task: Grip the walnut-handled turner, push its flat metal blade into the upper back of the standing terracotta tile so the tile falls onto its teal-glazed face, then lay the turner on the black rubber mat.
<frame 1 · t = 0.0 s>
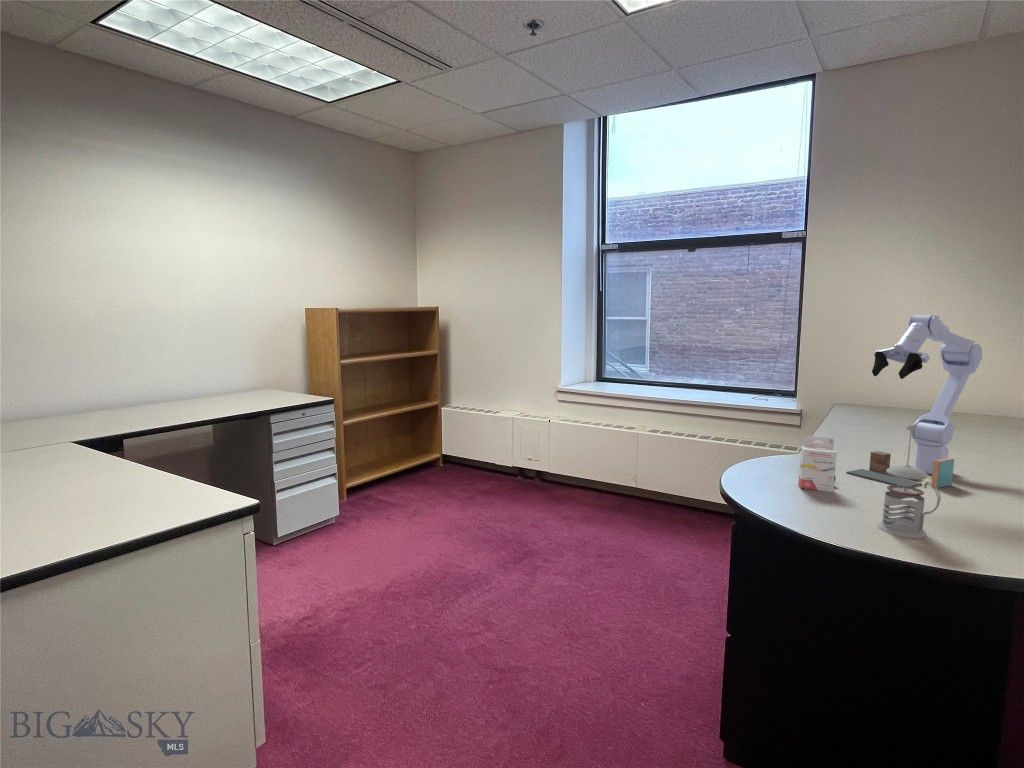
hand: (887, 375, 174), 32 cm above the table, tool tilted 50°, fingers open, 7 cm apart
tool mat: (882, 478, 181), on the table
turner: (879, 471, 191), on the table
hand tool: (814, 478, 183), on the table
french press: (905, 531, 138), on the table
tile: (941, 486, 175), on the table
ink cartridge box: (815, 489, 171), on the table
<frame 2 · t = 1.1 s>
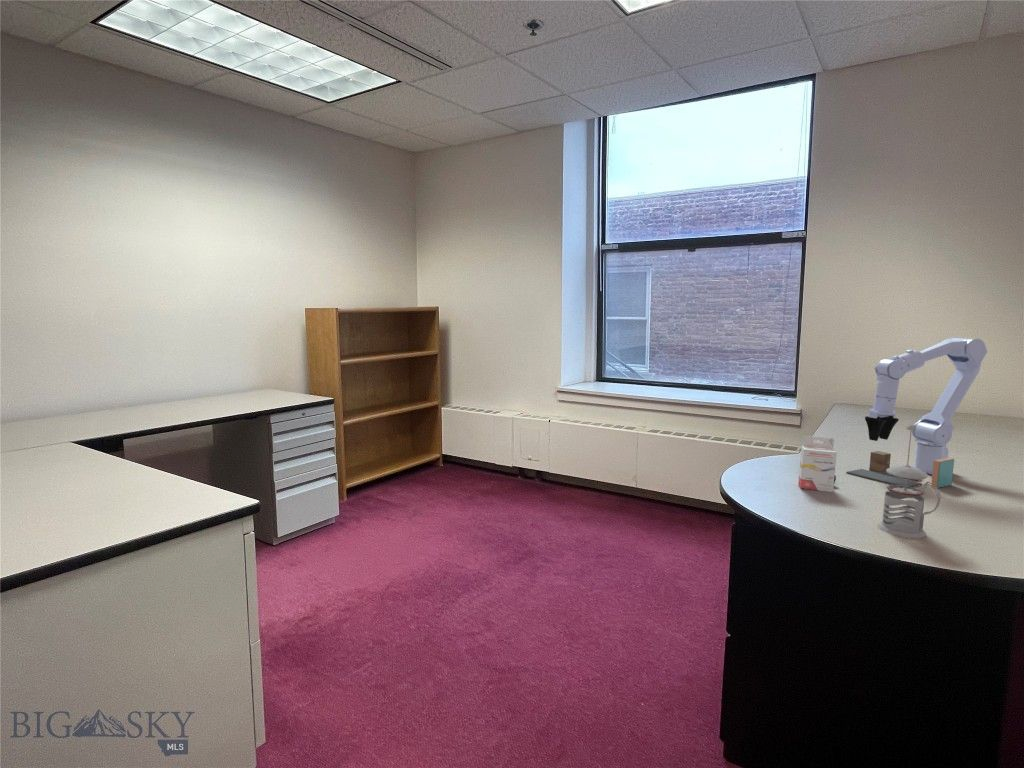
hand: (878, 439, 188), 10 cm above the table, tool pointing down, fingers open, 7 cm apart
nothing on the table moved.
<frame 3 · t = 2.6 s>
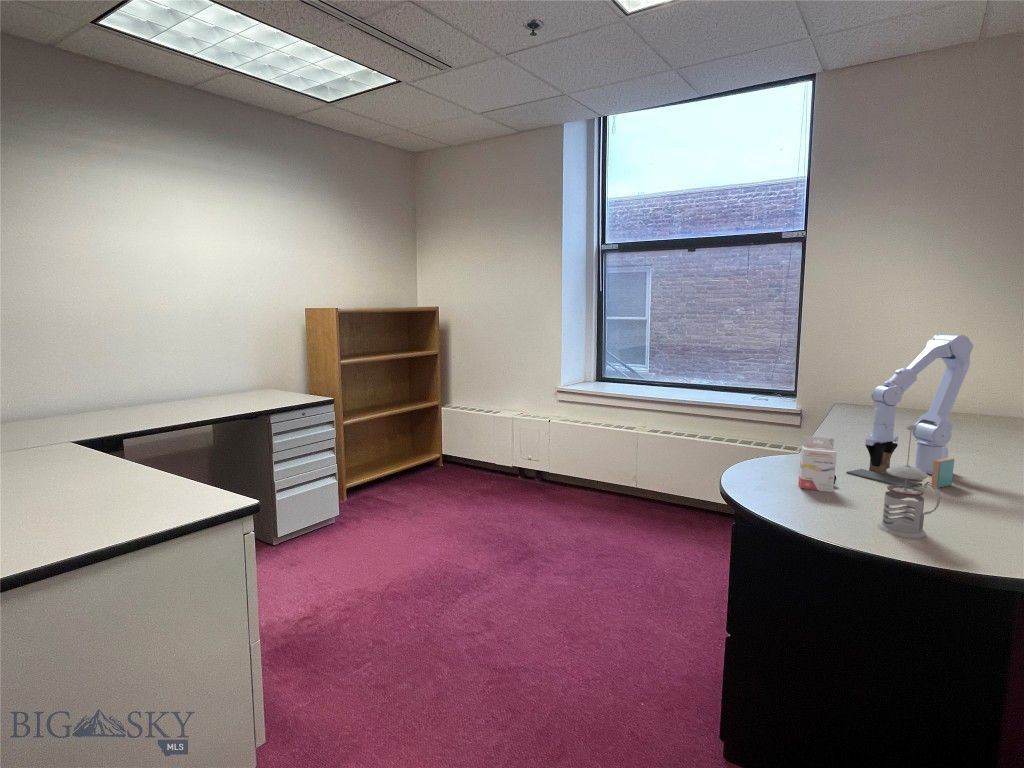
hand: (879, 465, 190), 2 cm above the table, tool pointing down, fingers closed on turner, 4 cm apart
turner: (879, 471, 191), on the table, touching gripper
everything else where it was.
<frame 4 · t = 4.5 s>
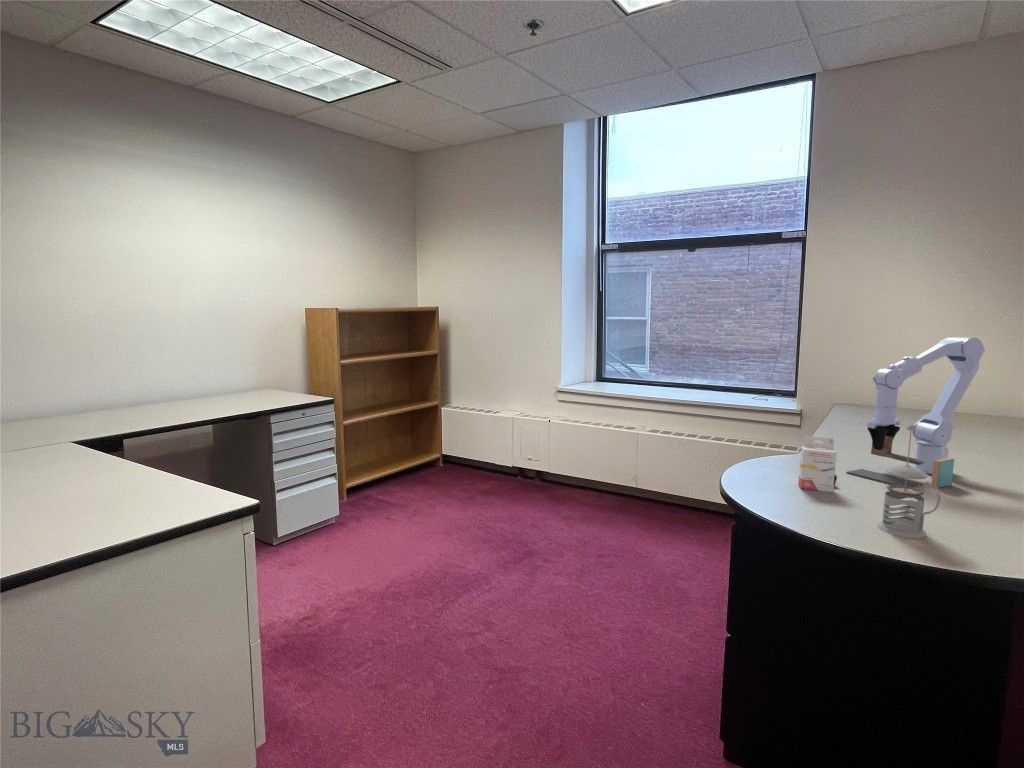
hand: (881, 448, 190), 7 cm above the table, tool pointing down, fingers closed on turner, 4 cm apart
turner: (880, 454, 190), point 5 cm above the table, touching gripper
everything else where it was.
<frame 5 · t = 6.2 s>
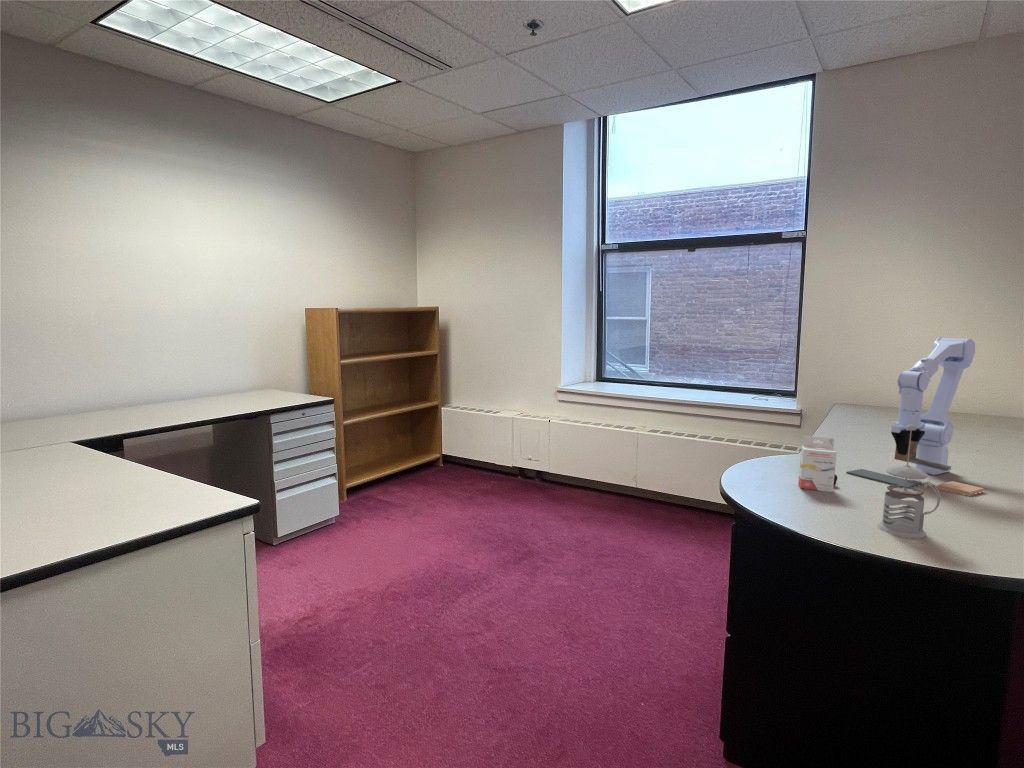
hand: (905, 453, 183), 7 cm above the table, tool pointing down, fingers closed on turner, 4 cm apart
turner: (904, 459, 184), point 5 cm above the table, touching gripper
tile: (944, 485, 174), on the table, tilted 90°
everything else where it was.
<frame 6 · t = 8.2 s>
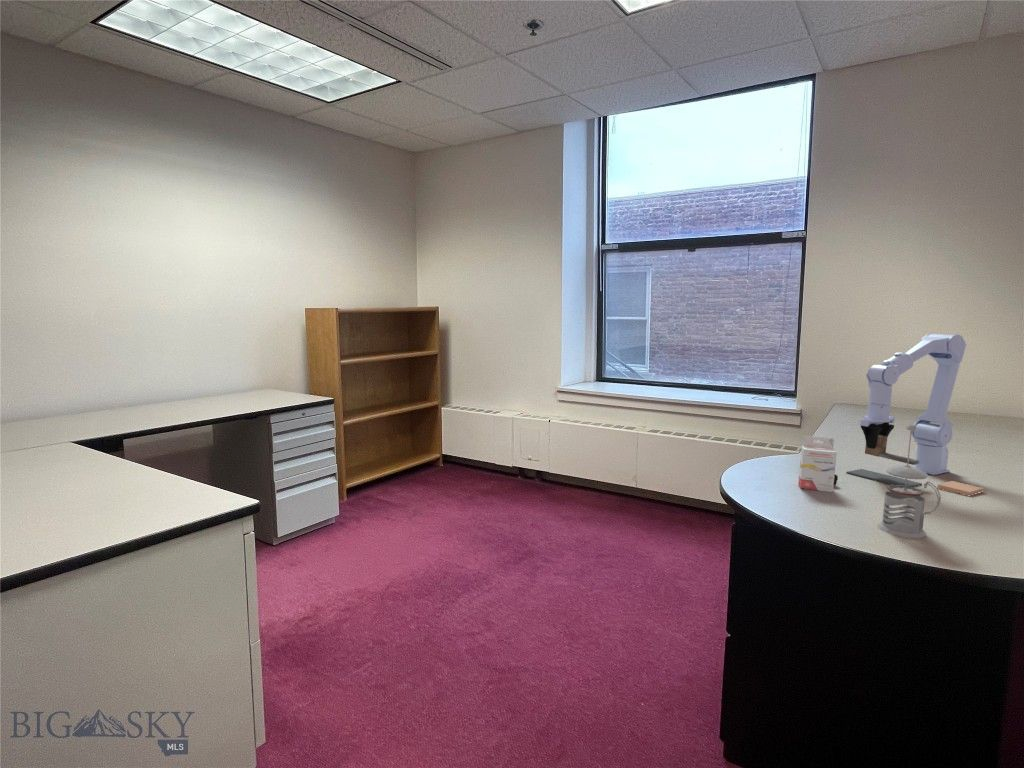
hand: (875, 447, 184), 9 cm above the table, tool pointing down, fingers closed on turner, 4 cm apart
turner: (874, 454, 184), point 7 cm above the table, touching gripper
everything else where it was.
when the fingers open (4 cm above the table, at t = 9.5 s): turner drops 2 cm, resting on tool mat.
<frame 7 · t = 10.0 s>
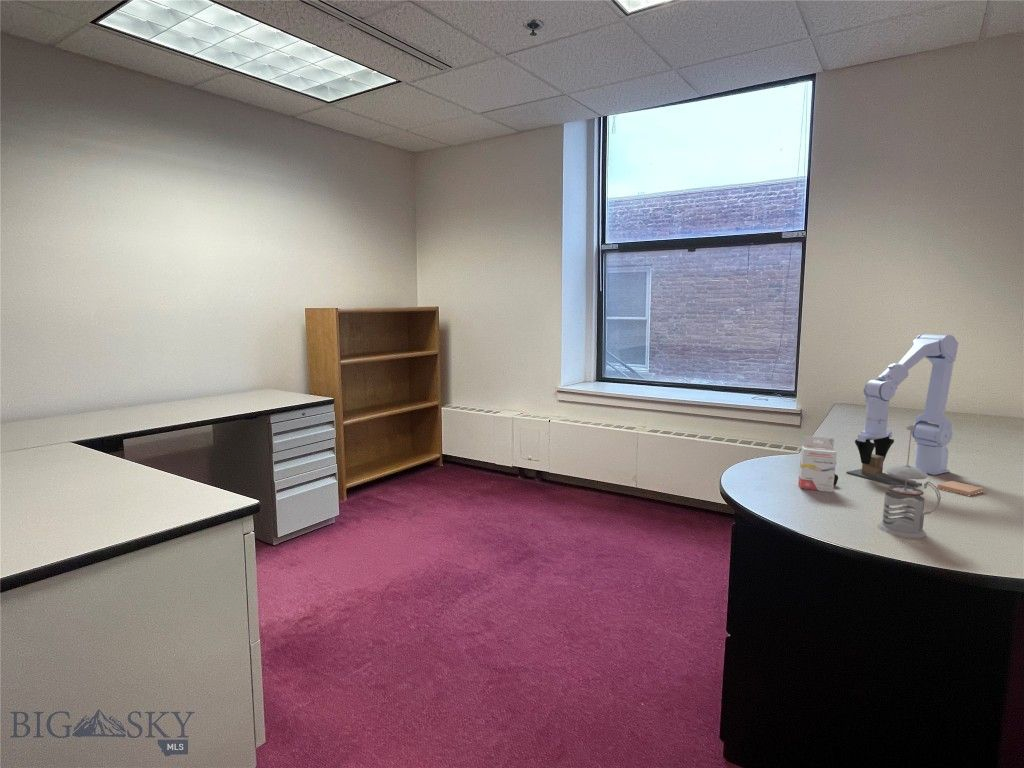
hand: (872, 462, 184), 4 cm above the table, tool pointing down, fingers open, 7 cm apart
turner: (871, 474, 184), resting on tool mat
everything else where it was.
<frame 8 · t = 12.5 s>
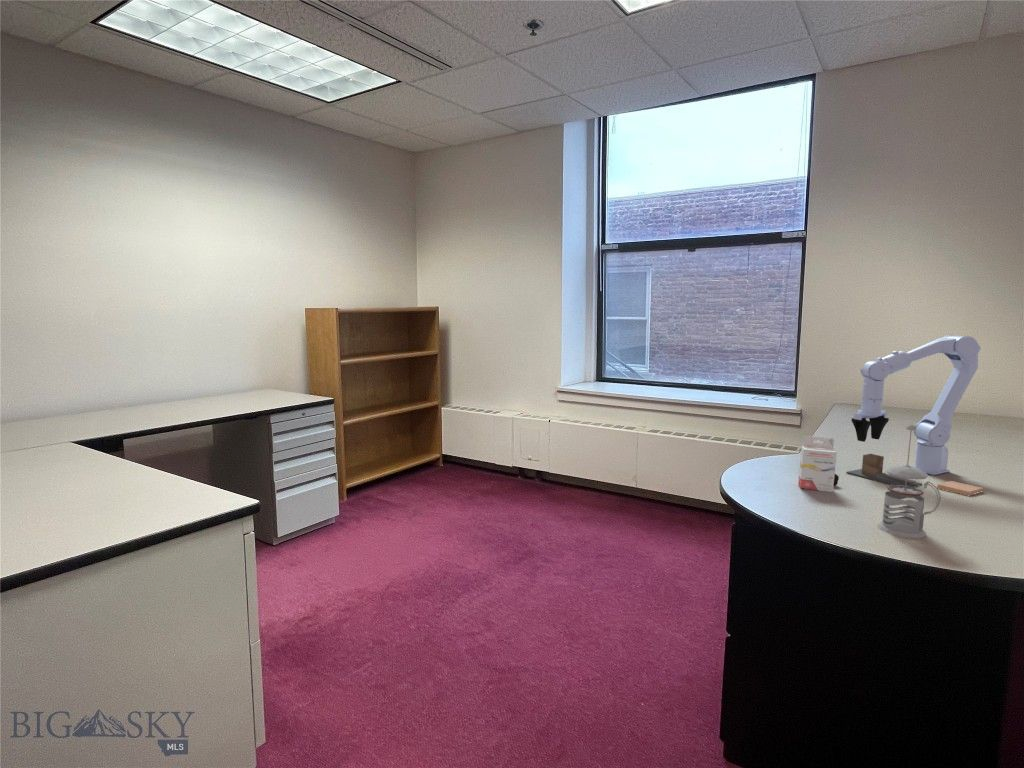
hand: (868, 439, 193), 9 cm above the table, tool pointing down, fingers open, 7 cm apart
nothing on the table moved.
at the end: tile tilted 90°; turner inside the target area on the tool mat (0.4 cm from its centre), point 0.5 cm above the tool mat's base; the gripper is holding nothing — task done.
